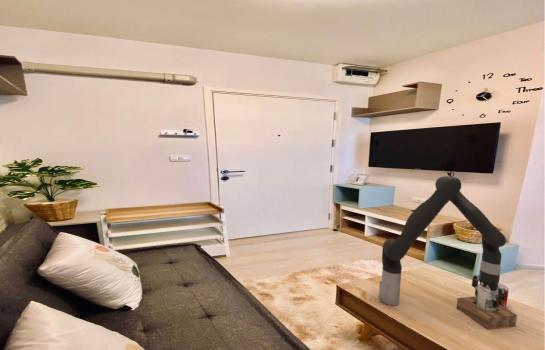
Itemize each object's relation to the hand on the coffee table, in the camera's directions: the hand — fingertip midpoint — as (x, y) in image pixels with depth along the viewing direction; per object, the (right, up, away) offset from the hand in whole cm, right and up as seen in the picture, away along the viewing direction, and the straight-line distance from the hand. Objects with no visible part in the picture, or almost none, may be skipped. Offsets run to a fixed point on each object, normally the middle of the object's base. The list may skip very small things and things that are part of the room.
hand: (486, 302), depth 126 cm
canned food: (+14, -7, +11) cm, 19 cm away
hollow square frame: (0, -8, +1) cm, 8 cm away
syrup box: (0, -7, +1) cm, 7 cm away
